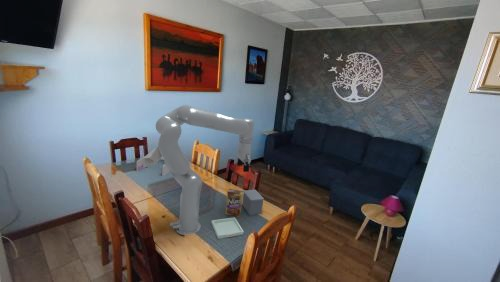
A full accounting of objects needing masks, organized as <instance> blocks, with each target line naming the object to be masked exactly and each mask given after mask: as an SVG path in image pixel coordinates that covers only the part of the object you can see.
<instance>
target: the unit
mask: <svg viewBox="0 0 500 282" xmlns="http://www.w3.org/2000/svg"><path fill="white" fill-rule="evenodd" d="M242 191H243V199H242V206H243V208H244V209H245V211H246V213H247V214H248V216H255V215H261V214H263V204H264V201H265V198H264V197H263V196H262V195H261V194H260V193H259V192H258V191H257V190H256V189H248V190H247V189H246V190H242Z"/></svg>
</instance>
